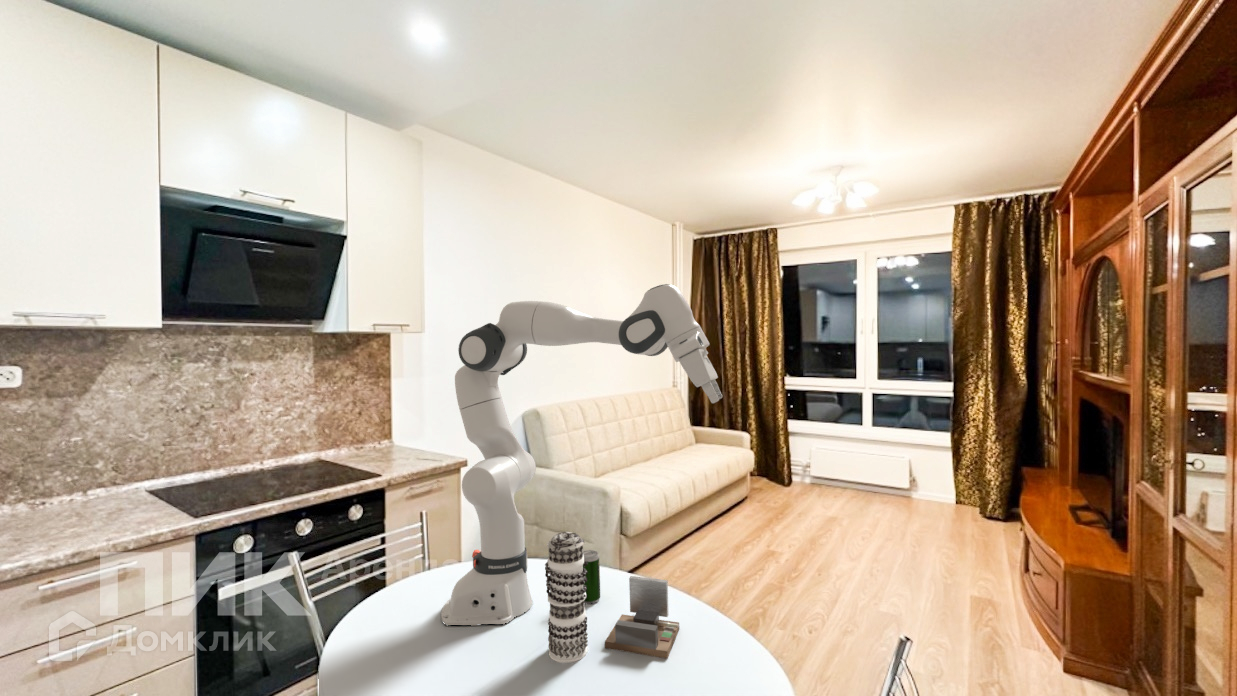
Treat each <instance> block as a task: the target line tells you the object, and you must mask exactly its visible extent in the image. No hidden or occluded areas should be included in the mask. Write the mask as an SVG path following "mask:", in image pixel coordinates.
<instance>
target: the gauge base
mask: <svg viewBox="0 0 1237 696" xmlns="http://www.w3.org/2000/svg"><path fill="white" fill-rule="evenodd" d="M634 616H635V615H628V614H621V615H620V617H619V619H618V620H617V621H616V623H615V624H614V626H613V628H612V630H611V631H610V632H609V634H608V636H607V637H606V639H605V641H604V648H605V649H608V650H614V651H619V652H620V651H621V652H626V653H631V654H638V655H643V656H651V657H656V658H661V659H666V660H667V659H669V656H670V653H671V651H672V649H673V646H674V643H675V640H676V639H677V637H678V634H679V632H680V631H679V630H680V626H679V627H678V628H674V627H667V626H661V625H657V626H656V625H649V624H642V623H635V622H633V618H634ZM659 621H661V622H668V623H675V624H679V625H680V622H678V621H671V620H665V619H663V620H662V619H659Z"/></svg>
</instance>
